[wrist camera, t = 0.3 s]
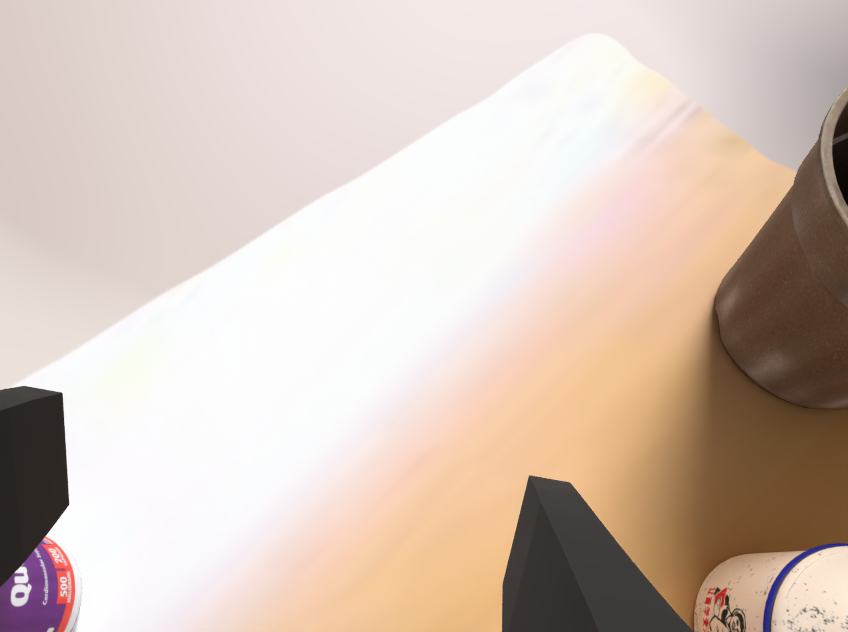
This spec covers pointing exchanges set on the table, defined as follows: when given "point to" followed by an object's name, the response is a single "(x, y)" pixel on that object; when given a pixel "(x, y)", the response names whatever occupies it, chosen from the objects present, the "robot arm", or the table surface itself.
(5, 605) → the pill bottle
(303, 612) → the table surface
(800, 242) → the plant pot
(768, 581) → the teacup with lid
